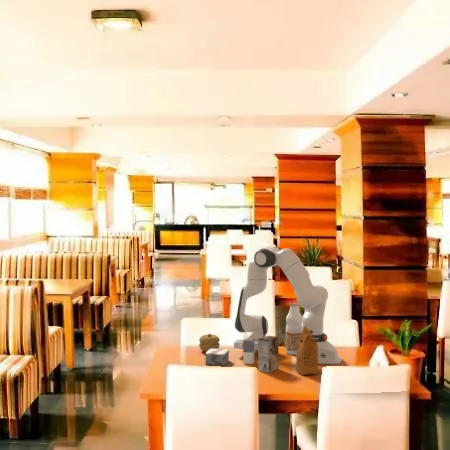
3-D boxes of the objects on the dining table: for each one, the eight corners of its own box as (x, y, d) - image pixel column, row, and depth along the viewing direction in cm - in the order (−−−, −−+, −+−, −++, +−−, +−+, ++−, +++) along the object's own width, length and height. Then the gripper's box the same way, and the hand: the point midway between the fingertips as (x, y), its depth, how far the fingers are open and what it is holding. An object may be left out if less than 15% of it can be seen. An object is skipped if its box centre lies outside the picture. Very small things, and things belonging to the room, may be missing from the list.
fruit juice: (282, 353, 313) (282, 303, 312) (292, 350, 319) (293, 301, 319) (295, 356, 306) (295, 305, 305) (306, 353, 312) (306, 303, 312)
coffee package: (313, 368, 282) (314, 325, 281) (319, 375, 269) (319, 330, 269) (294, 369, 281) (294, 325, 281) (299, 376, 269) (299, 330, 268)
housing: (254, 361, 295) (254, 338, 295) (252, 364, 290) (252, 341, 290) (245, 361, 296) (245, 338, 296) (243, 363, 291) (243, 340, 291)
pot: (223, 350, 318) (223, 333, 318) (212, 355, 308) (212, 337, 308) (206, 348, 324) (206, 330, 324) (194, 352, 315) (194, 334, 314)
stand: (228, 360, 296) (228, 349, 296) (224, 365, 287) (224, 354, 287) (210, 359, 299) (210, 348, 299) (205, 364, 289) (205, 353, 289)
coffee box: (268, 366, 285) (268, 335, 285) (278, 368, 281) (278, 337, 281) (257, 370, 278) (258, 338, 278) (268, 373, 274) (268, 340, 274)
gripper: (236, 335, 313) (231, 341, 299) (272, 337, 308) (269, 343, 295) (236, 347, 313) (231, 353, 299) (272, 349, 308) (269, 355, 295)
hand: (250, 348), depth 297 cm, fingers open, 8 cm apart
